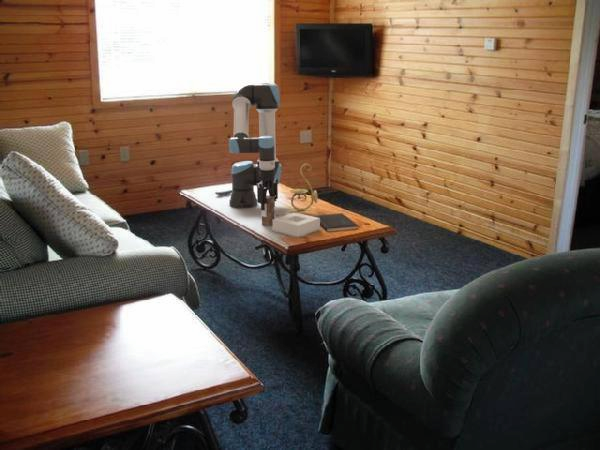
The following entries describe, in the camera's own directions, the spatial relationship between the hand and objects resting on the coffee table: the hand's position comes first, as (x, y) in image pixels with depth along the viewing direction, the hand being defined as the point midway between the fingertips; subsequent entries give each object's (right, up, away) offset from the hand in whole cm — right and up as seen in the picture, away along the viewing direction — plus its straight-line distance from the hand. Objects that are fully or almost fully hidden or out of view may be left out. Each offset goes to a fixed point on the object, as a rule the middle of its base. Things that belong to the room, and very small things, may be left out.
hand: (268, 215), depth 345 cm
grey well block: (+14, -8, -10) cm, 19 cm away
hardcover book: (+33, -5, +2) cm, 33 cm away
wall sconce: (+17, +3, +26) cm, 32 cm away
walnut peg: (0, -5, +1) cm, 5 cm away
